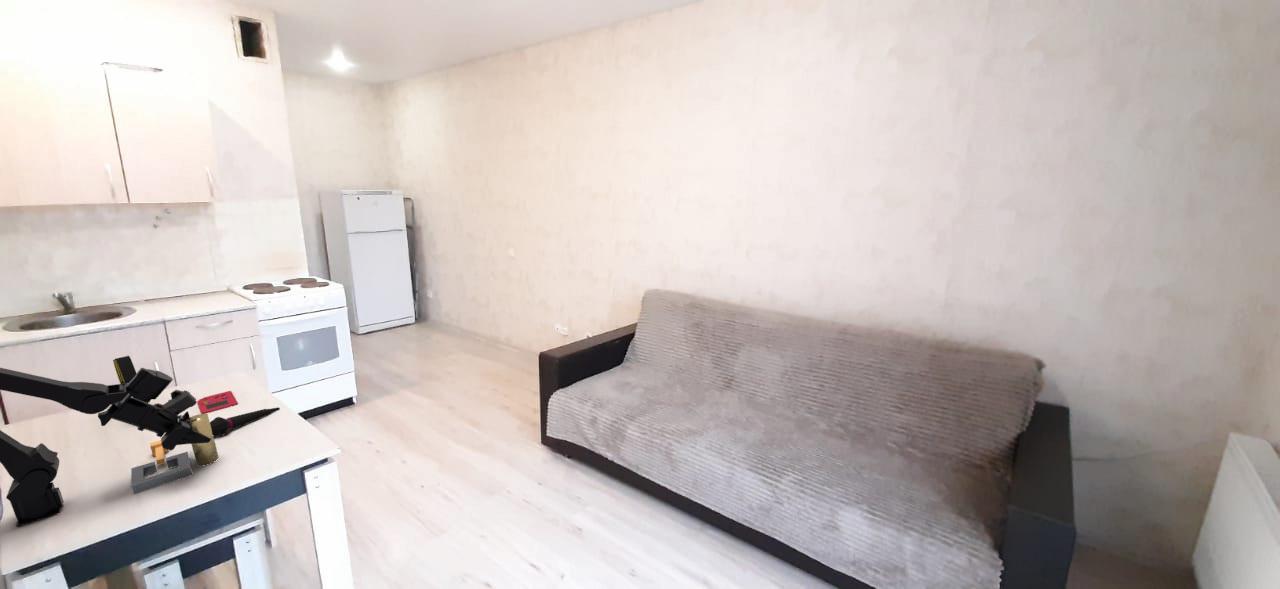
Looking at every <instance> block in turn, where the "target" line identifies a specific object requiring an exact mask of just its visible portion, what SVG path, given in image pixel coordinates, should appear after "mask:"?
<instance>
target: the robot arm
mask: <svg viewBox="0 0 1280 589" xmlns="http://www.w3.org/2000/svg"><path fill="white" fill-rule="evenodd" d="M136 373H137V374H136V375H135V377H134V378H133V379H132V380H131V381H130V382H129V383H124V384H120V383H117V384H110V385H109V384H108V385H107V384H103V383H97V382H96V383H95V382H88V381H87V382H86V381H62V380H59V379H53V378H49V377H44V376H39V375H36V374H35V375H34V374H31V373H28V372H27V373H26V372H22V371H17V370H12V369H8V368H3V367H0V391H5V392H9V393H15V394H19V395H24V396H29V397H34V398H39V399H43V400H49V401H52V402H55V403H58V404H60V405H62V406H64V407H66V408H67V409H71V410H73V411H76V412H80V413H82V414H85V415H97V418H98V419H99V422H100V425H101V426H102V427H105V426H106V425H107V424H108V423H109V422H110V421H111V420H115V421H118V422H121V423H124V424H128V425H130V426H134V427H137V431H140V432H143V431H144V430H146V431H149V432H151V433H155V434H156V437H160V440H161V443H162V447H163V448H164V449H168V451H173V450H174V449H175V448H176V447H177V446H181V445H191V444H197V443H209V442H210V440H211V438H209V437H207V436H205V435H203V434H201V433H200V432H198V431H196V430H194V429H193V428H192V425H191V422H189V423H188V424H187V423H186V422H185V420H186V419H187V418H189V417H191V416H190V413H189V411H188V409H190V408H193V407H194V406H195V405H196V404H198V403H197V401H198V400H197V399H196V398H195V397H194V396H193V394H191V393H190V391H188V390H181V389H180V390H179V389H175V390H173V391H172V392H171V393H170V397H171V399H168V400H167V402H165V403H164V404H161V403H160V402H157V403H154V404H151V403H150V402H151V401H152V400H156V399H157V398H159V397H160V395H161V394H162V393H163V392H164V391H165V389H167V387H168V386H169V385H170V384H171V383H172V382H173V381H174V379H173V378H172V377H171V376H170V375H168V374H166V373H164V372H163V371H159V370H154V369H150V368H149V369H147V368H146V367H140V369H138V371H136ZM131 396H132V397H135V398H137V399H139V400H137V399H135V398H132V397H131ZM140 400H142V401H140ZM143 401H150V402H149V403H146V402H143ZM185 411H186V412H185ZM183 412H184V413H183ZM181 413H183V414H181ZM58 454H59V452H57V451H53V450H51V449H50V448H48V447H47V446H46V445H45V444H44V443H39V444H38V445H37V446H35V447H34V446H29V445H25V444H22V443H21V442H19V441H18V440H16V439H15V438H13V437H12V436H10V435H8V434H7V433H5V432H4V431H2V430H1V429H0V464H1V465H2V467H3V468H4V469H5V471H6V472H7V474H8V476H10V478H12V479H13V480H12V481H11V483H10V486H9V489H8V490H7V491H8V492H7V495H6V496H5V499H7V500H8V501H9V502H10V505H11V508H12V510H13V514H14V516H15V519H16V524H15V526H16V528H17V527H21V526H24V525H25V526H26V525H27V524H32V523H34V522H37V521H39V520H44V519H47V518H49V517H53V516H55V515H58V514H60V513H61V509H62V508H63V506H64V503H65V502H64V501H65V500H64V498H63V495H62V493H61V489H60V487H58V486H57V487H56V486H55V484H54V482H53V481H54V480H55V478H56V477H57V474H58V472H59V471H58V469H59V466H60V459H59V457H58Z"/></svg>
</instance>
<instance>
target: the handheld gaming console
mask: <svg viewBox="0 0 1280 589" xmlns="http://www.w3.org/2000/svg"><path fill="white" fill-rule="evenodd" d="M196 401H197V403H196V404H197V406H198V409H199V412H200V414H210V413H213V412H215V411H217V412H218V411H221V410H224V409H227V408H232V407H234V406H237V405H239V403H238V401H237V399H236V397H235V395H234V394H233V392H232V391H231V390H227V391H224V392H221V393H215V394H212V395H209V396H204V397H202V398H200V399H198V400H196ZM231 406H232V407H231Z"/></svg>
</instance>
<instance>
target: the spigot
mask: <svg viewBox="0 0 1280 589" xmlns="http://www.w3.org/2000/svg"><path fill="white" fill-rule="evenodd" d="M185 422H186V423H187V424H188V423H189V422H191V425H192V428H193V429H194V430H196V431H198V432H200V433H201V434H203V435H205V436H207V437H209V438H211V440H210V442H209V443H197V444H190V445H191V448H192V452H193V455H194V459H195V464H196V465H198V466H197V467H204V466H203V465H206V466H208V465H207V464H209V465H211V464H210V463H212V464H214V463H215V462H214V461H216V460H217V459H218V458H220V457H219V454H218V449H217V446H216V442H215V441H216V440H215V438H214V437H215V436H214V435H213V433H212V429H211V425H210V422H211V421H210V418H209V414H208V413H206V414H201V413H199V414H196V415H191V416H190V417H189V418H187V419H186V420H185ZM218 460H219V459H218ZM218 460H217V461H218ZM217 461H216V462H217ZM213 462H214V463H213Z"/></svg>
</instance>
